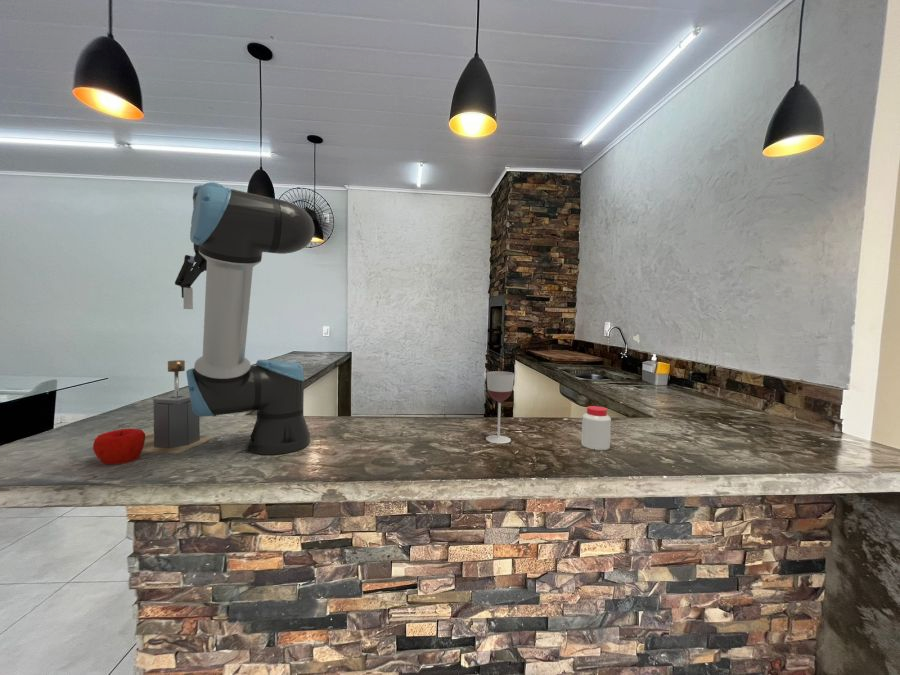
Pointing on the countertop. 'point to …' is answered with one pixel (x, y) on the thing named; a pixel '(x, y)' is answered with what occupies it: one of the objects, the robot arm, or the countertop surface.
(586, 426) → the pill bottle
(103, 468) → the countertop surface
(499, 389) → the wineglass
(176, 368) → the plunger
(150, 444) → the board
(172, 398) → the gray octagonal holder
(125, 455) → the apple
